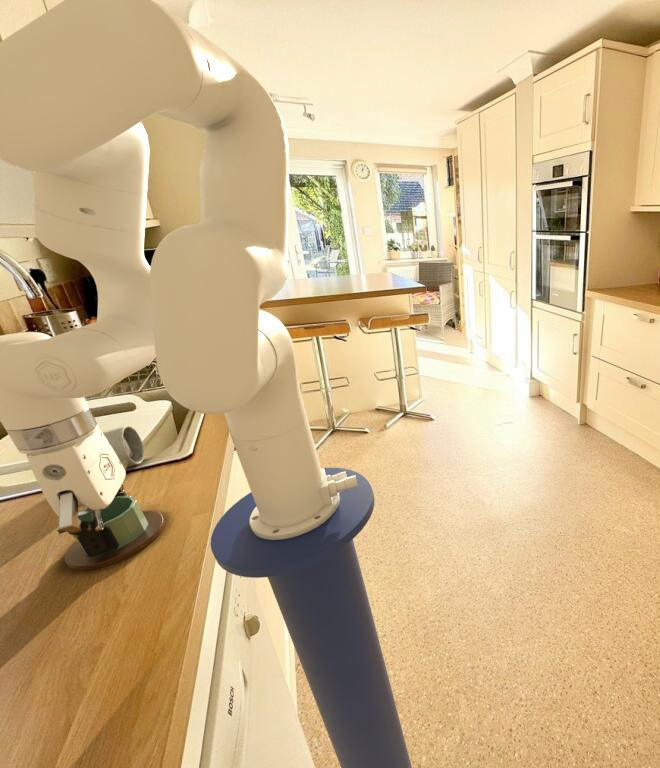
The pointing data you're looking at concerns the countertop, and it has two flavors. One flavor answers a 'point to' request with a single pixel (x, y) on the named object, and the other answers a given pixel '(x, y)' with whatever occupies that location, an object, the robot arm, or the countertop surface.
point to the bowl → (120, 520)
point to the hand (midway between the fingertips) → (113, 532)
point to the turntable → (83, 562)
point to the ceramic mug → (126, 445)
